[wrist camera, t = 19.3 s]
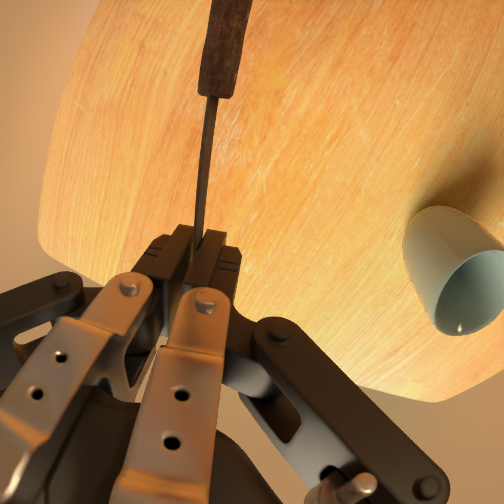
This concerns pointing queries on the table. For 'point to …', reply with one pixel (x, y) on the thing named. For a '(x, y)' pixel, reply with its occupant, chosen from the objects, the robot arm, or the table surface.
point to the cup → (454, 269)
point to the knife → (217, 84)
